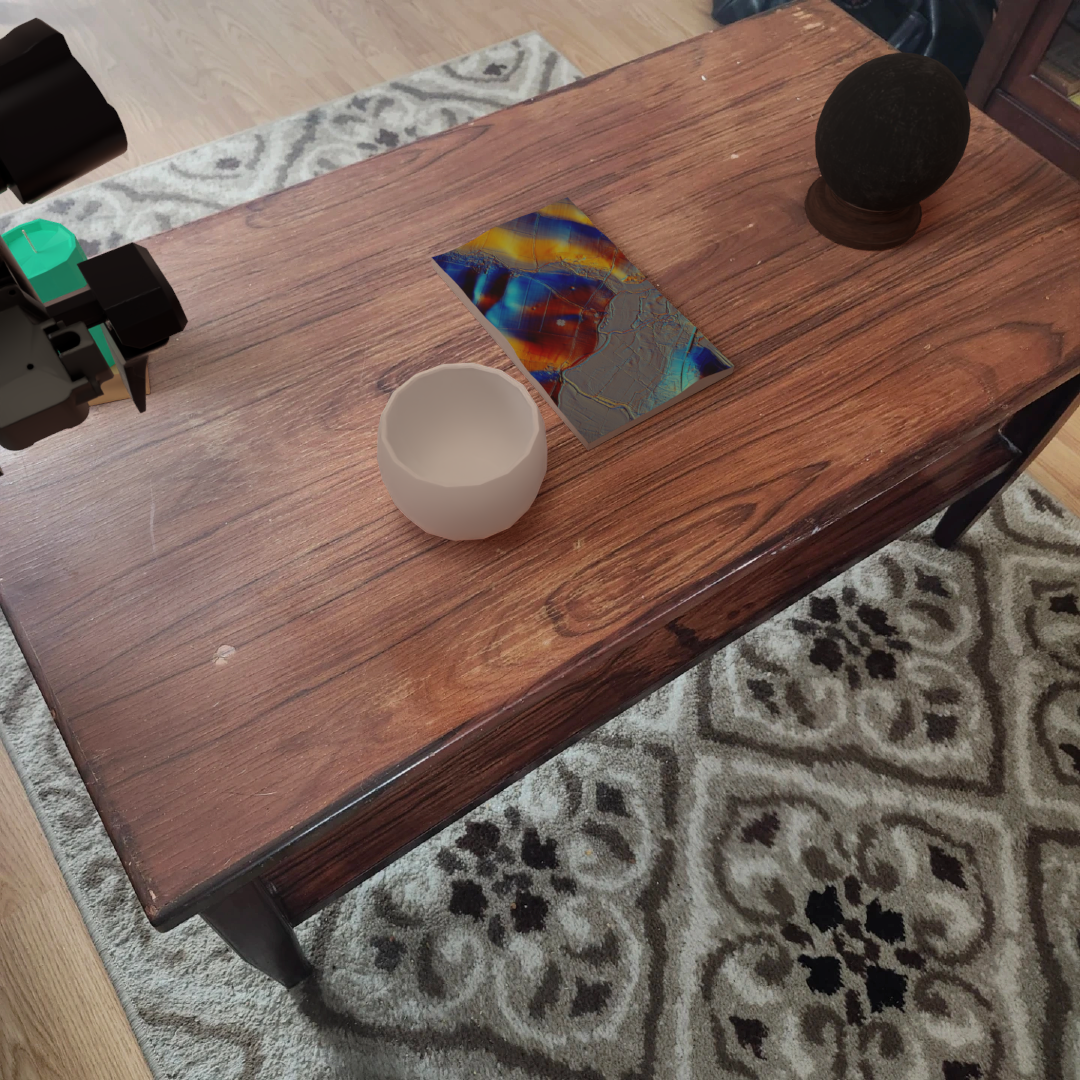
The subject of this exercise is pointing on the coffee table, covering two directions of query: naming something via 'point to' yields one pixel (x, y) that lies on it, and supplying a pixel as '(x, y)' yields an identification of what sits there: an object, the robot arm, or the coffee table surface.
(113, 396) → the maple block
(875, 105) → the velvet ball on stand
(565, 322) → the relief map
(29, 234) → the candle
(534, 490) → the cup
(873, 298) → the coffee table surface
